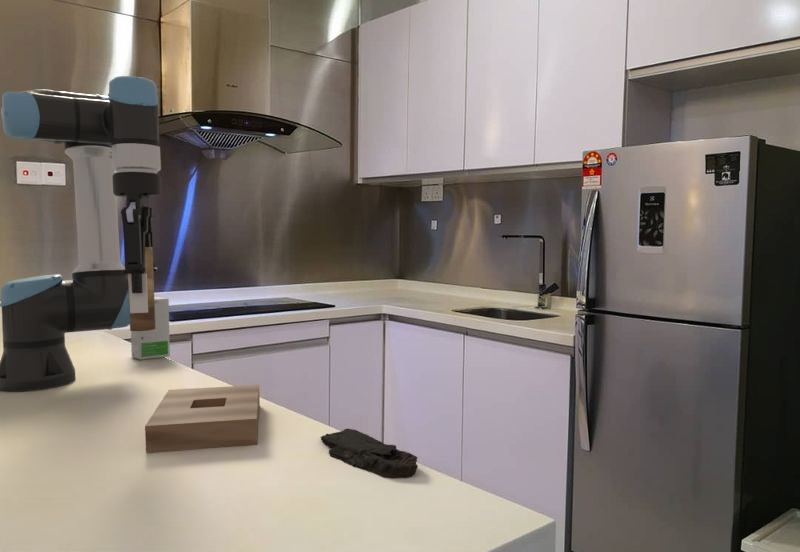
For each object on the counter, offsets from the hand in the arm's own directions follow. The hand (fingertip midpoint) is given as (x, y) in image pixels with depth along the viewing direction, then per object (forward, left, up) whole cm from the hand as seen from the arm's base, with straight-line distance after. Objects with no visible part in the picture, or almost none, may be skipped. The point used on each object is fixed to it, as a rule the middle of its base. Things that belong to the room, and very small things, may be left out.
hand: (142, 310), depth 107 cm
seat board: (+6, +11, -19) cm, 23 cm away
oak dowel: (0, 0, -3) cm, 3 cm away
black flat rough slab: (+25, +34, -20) cm, 47 cm away
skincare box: (-61, -10, -19) cm, 65 cm away
